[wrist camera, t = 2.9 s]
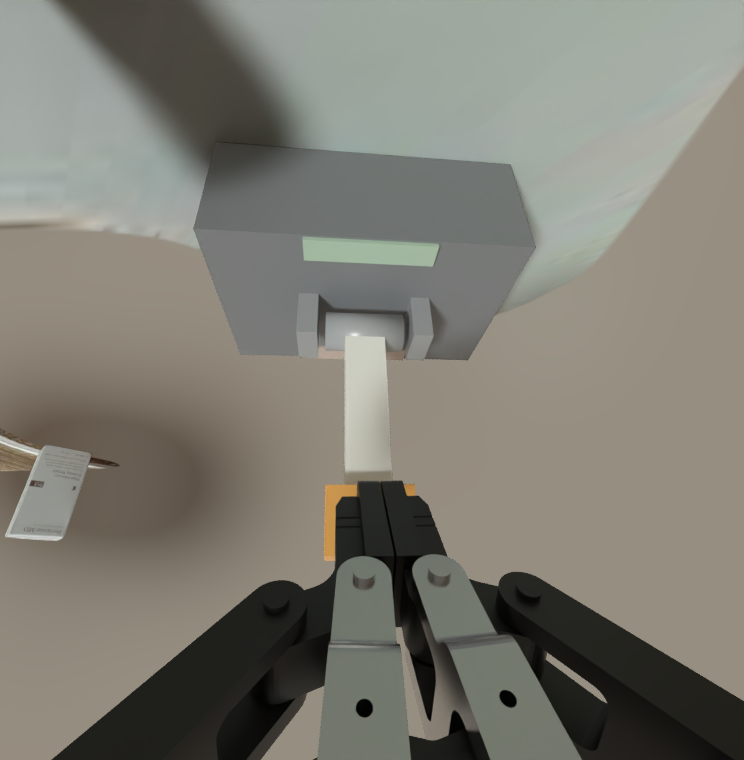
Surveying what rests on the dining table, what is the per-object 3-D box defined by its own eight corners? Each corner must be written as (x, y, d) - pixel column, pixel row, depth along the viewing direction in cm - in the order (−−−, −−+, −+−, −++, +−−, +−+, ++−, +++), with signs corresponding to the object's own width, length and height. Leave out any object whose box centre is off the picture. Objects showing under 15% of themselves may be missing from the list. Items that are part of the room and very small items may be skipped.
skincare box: (93, 451, 60) (66, 538, 54) (85, 458, 62) (59, 541, 57) (42, 443, 56) (8, 535, 50) (37, 450, 58) (3, 538, 53)
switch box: (250, 282, 28) (235, 388, 24) (215, 142, 19) (182, 272, 15) (456, 291, 30) (473, 391, 26) (510, 164, 21) (548, 288, 17)
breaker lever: (326, 330, 22) (319, 561, 17) (326, 300, 20) (318, 556, 15) (396, 332, 23) (412, 558, 17) (404, 303, 20) (425, 553, 15)
